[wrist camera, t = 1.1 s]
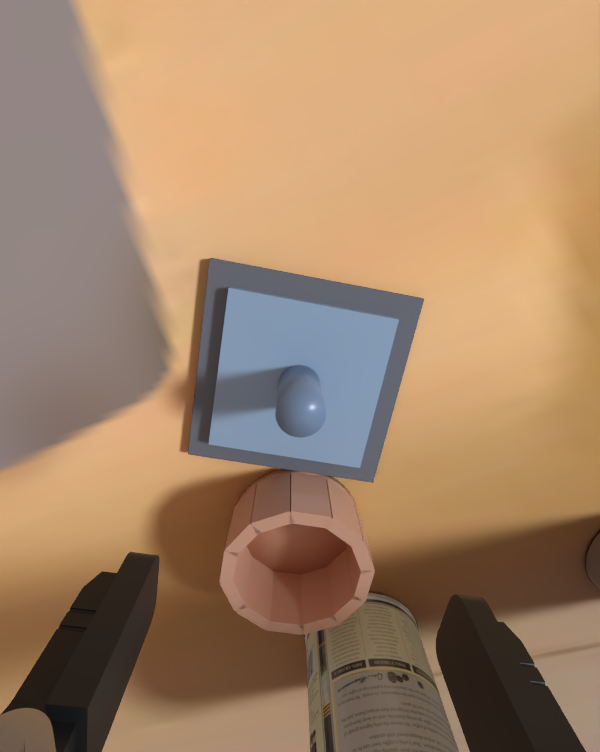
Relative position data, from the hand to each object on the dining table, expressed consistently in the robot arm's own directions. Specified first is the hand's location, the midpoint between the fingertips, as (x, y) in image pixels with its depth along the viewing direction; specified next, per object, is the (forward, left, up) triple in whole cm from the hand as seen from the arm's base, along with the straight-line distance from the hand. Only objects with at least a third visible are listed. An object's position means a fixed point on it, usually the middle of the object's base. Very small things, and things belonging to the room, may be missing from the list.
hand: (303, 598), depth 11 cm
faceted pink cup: (-2, +12, -18) cm, 21 cm away
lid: (0, 0, -17) cm, 17 cm away
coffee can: (-10, +23, -18) cm, 31 cm away
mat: (0, 0, -18) cm, 18 cm away
